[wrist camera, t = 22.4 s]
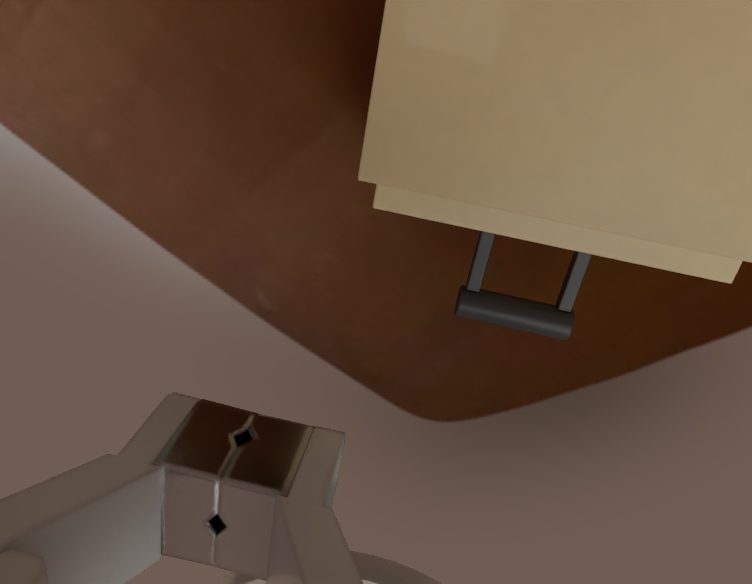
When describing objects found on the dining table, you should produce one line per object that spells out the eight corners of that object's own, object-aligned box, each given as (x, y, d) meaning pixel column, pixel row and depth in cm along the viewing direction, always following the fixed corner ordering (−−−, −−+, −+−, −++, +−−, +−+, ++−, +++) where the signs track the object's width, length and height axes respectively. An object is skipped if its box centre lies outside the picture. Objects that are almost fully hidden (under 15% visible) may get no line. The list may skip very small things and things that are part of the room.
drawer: (634, 314, 29) (677, 392, 23) (377, 258, 30) (352, 319, 24) (820, -122, 21) (963, -179, 15) (458, -182, 22) (453, -260, 16)
